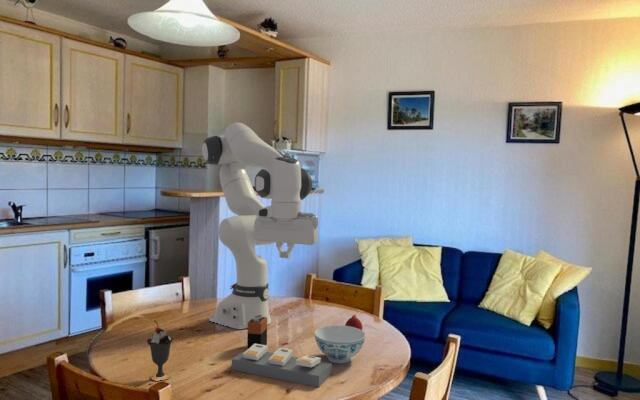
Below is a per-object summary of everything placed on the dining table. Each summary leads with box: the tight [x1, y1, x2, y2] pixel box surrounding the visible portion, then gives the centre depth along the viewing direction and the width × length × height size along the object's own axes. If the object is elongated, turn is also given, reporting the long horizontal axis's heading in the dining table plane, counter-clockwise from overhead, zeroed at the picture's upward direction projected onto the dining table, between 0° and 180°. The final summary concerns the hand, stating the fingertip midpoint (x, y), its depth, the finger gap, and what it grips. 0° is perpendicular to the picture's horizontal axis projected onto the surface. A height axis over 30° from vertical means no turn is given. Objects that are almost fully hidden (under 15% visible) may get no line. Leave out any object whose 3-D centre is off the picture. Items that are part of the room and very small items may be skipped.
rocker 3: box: [296, 354, 322, 367], centre depth 131 cm, size 4×6×2 cm
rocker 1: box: [243, 344, 269, 360], centre depth 137 cm, size 4×6×2 cm
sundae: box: [146, 320, 174, 377], centre depth 128 cm, size 7×7×15 cm
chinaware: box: [314, 324, 366, 364], centre depth 144 cm, size 15×15×8 cm
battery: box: [246, 315, 268, 350], centre depth 151 cm, size 4×7×10 cm, turn 169°
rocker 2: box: [269, 347, 295, 366], centre depth 134 cm, size 4×6×2 cm
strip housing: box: [231, 348, 333, 388], centre depth 134 cm, size 26×9×3 cm, turn 67°
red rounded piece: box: [344, 314, 363, 331], centre depth 163 cm, size 6×6×8 cm
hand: (284, 257), depth 147 cm, fingers closed
